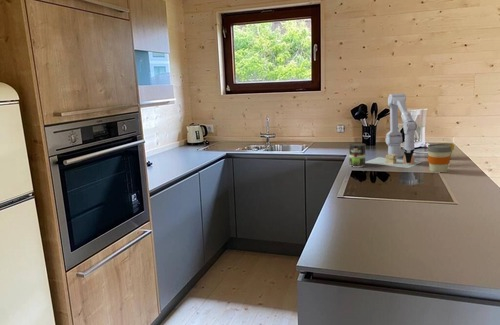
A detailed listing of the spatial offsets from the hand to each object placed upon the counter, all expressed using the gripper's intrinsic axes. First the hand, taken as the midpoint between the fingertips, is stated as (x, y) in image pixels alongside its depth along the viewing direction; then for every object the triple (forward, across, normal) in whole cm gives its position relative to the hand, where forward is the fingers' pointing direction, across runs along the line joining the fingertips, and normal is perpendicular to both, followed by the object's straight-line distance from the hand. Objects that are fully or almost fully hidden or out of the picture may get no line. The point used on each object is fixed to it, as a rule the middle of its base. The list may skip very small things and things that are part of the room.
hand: (408, 161), depth 243 cm
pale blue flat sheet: (+2, -2, -10) cm, 10 cm away
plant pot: (+2, -21, +21) cm, 30 cm away
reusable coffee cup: (+2, +15, +17) cm, 23 cm away
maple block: (+1, 0, -11) cm, 11 cm away
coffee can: (+2, +10, -30) cm, 32 cm away
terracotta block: (+1, 0, 0) cm, 1 cm away
